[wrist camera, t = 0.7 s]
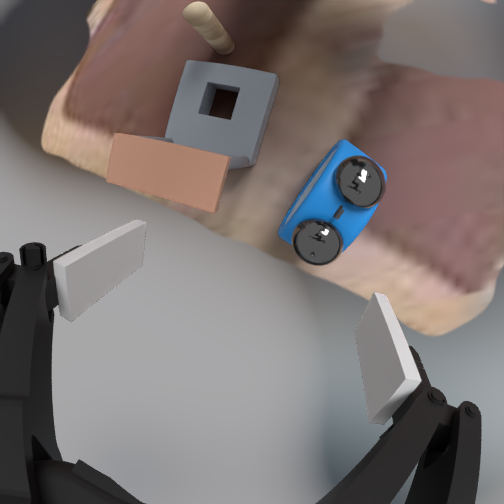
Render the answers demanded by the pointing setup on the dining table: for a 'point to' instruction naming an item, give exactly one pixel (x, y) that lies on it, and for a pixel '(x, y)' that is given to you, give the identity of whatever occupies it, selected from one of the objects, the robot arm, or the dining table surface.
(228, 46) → the peg
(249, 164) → the socket station
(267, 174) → the dining table surface
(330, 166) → the alarm clock
